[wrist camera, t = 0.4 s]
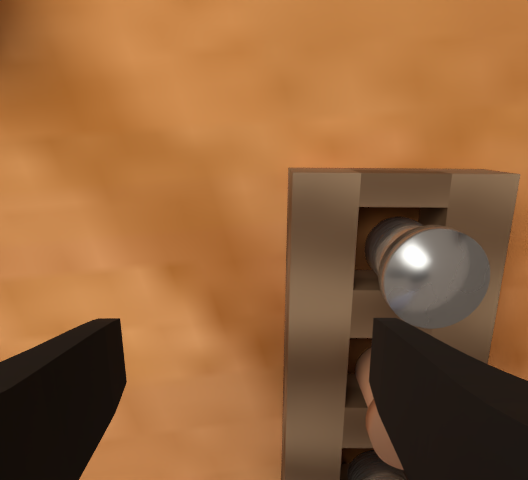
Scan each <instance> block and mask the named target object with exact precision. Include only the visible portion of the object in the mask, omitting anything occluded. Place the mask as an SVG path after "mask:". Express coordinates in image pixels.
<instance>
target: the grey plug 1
mask: <svg viewBox="0 0 528 480" xmlns="http://www.w3.org/2000/svg"><path fill="white" fill-rule="evenodd" d="M347 476H348V480H407V479H406V477H405V474H404V472H403V470H401V469H398V468H395V467H392V466H390V465H388V464H387V463H385V462H384V461H383V460H381V458H380V457H379V456H378V455H377V454H376V452H375V450H371V451H367V452H364V453H362V454H360V455H358V456H357V457H356V458H354V459H353V461H352V462H351V463H350V465H349V467H348V472H347Z"/></svg>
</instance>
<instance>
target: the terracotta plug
mask: <svg viewBox="0 0 528 480" xmlns="http://www.w3.org/2000/svg"><path fill="white" fill-rule="evenodd" d="M370 358H371V347H370V348H368V349H367V350H366V351H365V352H363V353H362V355H361V356H360V357H359V359H358V361H357V363H356V367H355V375H356V379H357V381H358V384H359V386H360V389H361V391H362V394H363V396H364V399H365V402H366V404H367V407H368V410H367V413H366V429H367V432H368V435H369V438H370V441H371V443H372V446H373V448H374V450H375V452H376V454H377V455H378V456H379V457H380V458H381V460H383V461H384V462H385V463H387V464H388V465H390V466H392V467H395V468H398V469H401V470H404V469H403V467H402V465H401V462H400V460H399V458H398V456H397V454H396V451H395V449H394V447H393V445H392V443H391V441H390V438H389V436H388V434H387V432H386V429H385V427H384V425H383V423H382V421H381V418H380V416H379V414H378V411H377V408H376V404H375V401H374V398H373V394H372V391H371V387H370V384H369V371H370Z"/></svg>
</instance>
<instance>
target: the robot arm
mask: <svg viewBox="0 0 528 480" xmlns="http://www.w3.org/2000/svg"><path fill="white" fill-rule="evenodd" d="M126 382H127V381H126V371H125V362H124V352H123V342H122V333H121V323H120V319H96V320H92V321H90V322H87V323H85V324H82V325H80V326H78V327H76V328H74V329H71V330H69V331H67V332H65V333H63V334H61V335H59V336H57V337H55V338H52V339H50V340H48V341H46V342H44V343H42V344H40V345H38V346H36V347H34V348H31V349H29V350H27V351H25V352H22V353H20V354H18V355H15V356H13V357H11V358H9V359H6V360H4V361H2V362H0V480H79V478H80V477H81V475H82V473H83V471H84V469H85V467H86V466H87V464H88V462H89V460H90V458H91V457H92V455H93V453H94V451H95V449H96V448H97V446H98V444H99V442H100V440H101V438H102V437H103V435H104V433H105V431H106V429H107V427H108V426H109V424H110V422H111V420H112V418H113V416H114V414H115V412H116V409H117V407H118V404H119V402H120V399H121V396H122V393H123V391H124V388H125V385H126ZM369 384H370V387H371V391H372V394H373V398H374V401H375V404H376V408H377V411H378V414H379V416H380V418H381V421H382V423H383V425H384V427H385V429H386V432H387V434H388V436H389V438H390V441H391V443H392V445H393V447H394V449H395V451H396V454H397V456H398V458H399V460H400V462H401V465H402V467H403V469H404V471H405V473H406V475H407V478H408V480H528V381H527V380H524V379H521V378H519V377H516V376H514V375H511V374H509V373H506V372H504V371H502V370H499V369H497V368H495V367H492V366H490V365H488V364H486V363H484V362H482V361H480V360H477V359H475V358H473V357H471V356H469V355H467V354H465V353H463V352H461V351H459V350H457V349H455V348H453V347H451V346H449V345H448V344H446V343H444V342H442V341H440V340H438V339H436V338H435V337H433V336H431V335H429V334H427V333H425V332H424V331H422V330H420V329H418V328H416V327H414V326H412V325H410V324H409V323H407V322H405V321H402V320H400V319H397V318H373V332H372V345H371V358H370V371H369Z"/></svg>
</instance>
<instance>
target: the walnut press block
mask: <svg viewBox="0 0 528 480" xmlns="http://www.w3.org/2000/svg"><path fill="white" fill-rule="evenodd" d="M519 179H520V174H515V173H507V172H500V171H492V170H485V169H385V168H288V208H287V252H286V295H285V339H284V382H283V426H282V469H281V480H348V476H347V472H348V467H349V465H350V464H341V454H342V448H373V446H372V443H371V441H370V438H369V435H368V432H367V429H366V413H367V410H368V407H367V404H366V402H365V399H364V396H363V394H362V391H361V389H360V386H359V384H358V381H357V379H356V375H355V374H347V369H348V355H349V340H350V338H372V332H373V318H397V319H400V320H402V319H401V318H400V317H398V316H397V315H396V314H395V312H394V311H393V310H392V309H391V307H390V306H389V305H388V303H387V302H386V301H385V299H384V298H383V296H382V293H381V291H380V288H379V283H378V275H377V274H376V273H375V272H374V271H373V270H354V269H355V255H356V241H357V226H358V212H359V207H420V213H419V222H418V223H420V224H422V225H443V226H447V227H450V228H453V229H455V230H457V231H459V232H462V233H464V234H466V235H468V236H469V237H471V238H472V239H474V240H475V241H476V242H477V243H478V244H479V245H480V246H481V247H482V249H483V250H484V252H485V254H486V255H487V258H488V261H489V265H490V282H489V286H488V289H487V292H486V294H485V296H484V298H483V300H482V301H481V303H480V304H479V306H478V307H477V308H476V309H475V310H474V311H473V312H472V313H471V314H470V315H469V316H467V317H466V318H464V319H463V320H461V321H459V322H458V323H455V324H453V325H450V326H447V327H443V328H435V329H428V328H420V327H416V326H414V327H416V328H418V329H420V330H422V331H424V332H425V333H427V334H429V335H431V336H433V337H435V338H436V339H438V340H440V341H442V342H444V343H446V344H448V345H449V346H451V347H453V348H455V349H457V350H459V351H461V352H463V353H465V354H467V355H469V356H471V357H473V358H475V359H477V360H480V361H482V362H484V363H486V364H488V358H489V352H490V346H491V341H492V335H493V329H494V323H495V318H496V312H497V306H498V300H499V294H500V289H501V283H502V277H503V271H504V266H505V260H506V254H507V248H508V243H509V237H510V231H511V225H512V220H513V214H514V208H515V202H516V197H517V191H518V185H519ZM402 321H404V320H402ZM410 325H411V324H410ZM412 326H413V325H412ZM403 472H404V474H405V477H406V479H407V480H408V478H407V475H406V473H405V471H404V470H403Z"/></svg>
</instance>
